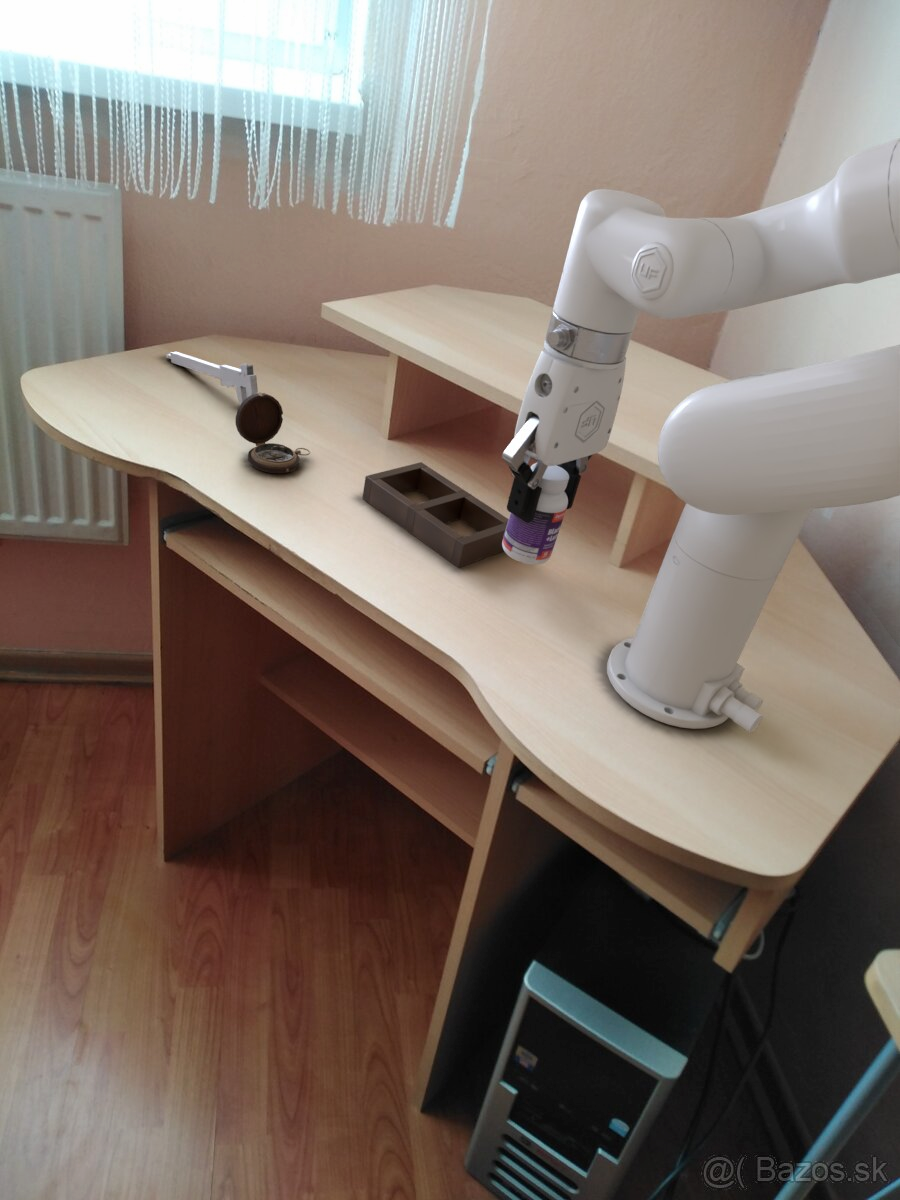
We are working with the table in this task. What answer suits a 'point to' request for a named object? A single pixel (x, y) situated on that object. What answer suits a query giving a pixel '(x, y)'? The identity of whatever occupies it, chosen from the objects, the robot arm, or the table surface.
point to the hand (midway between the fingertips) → (539, 507)
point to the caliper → (221, 373)
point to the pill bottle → (539, 521)
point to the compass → (265, 434)
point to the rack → (437, 512)
